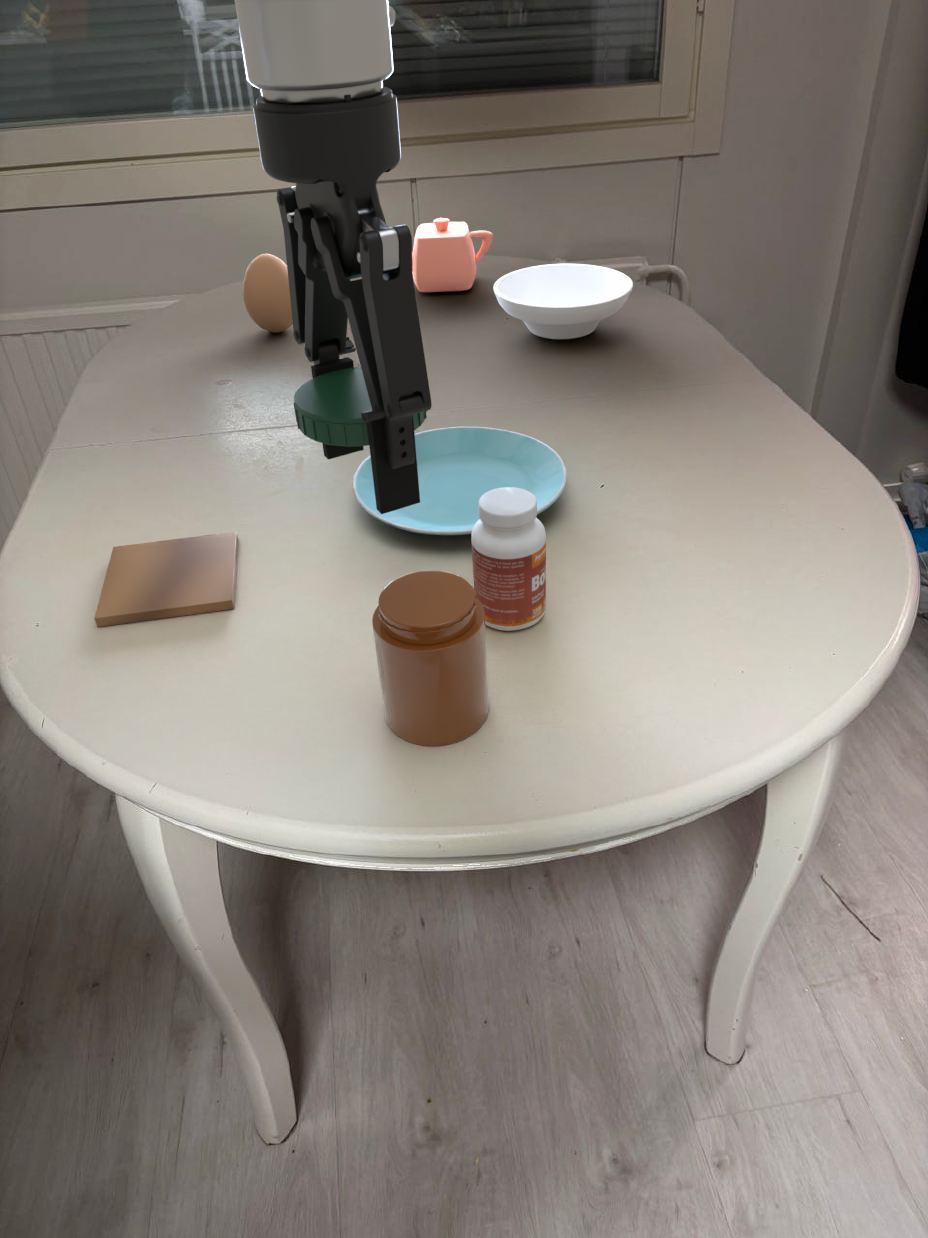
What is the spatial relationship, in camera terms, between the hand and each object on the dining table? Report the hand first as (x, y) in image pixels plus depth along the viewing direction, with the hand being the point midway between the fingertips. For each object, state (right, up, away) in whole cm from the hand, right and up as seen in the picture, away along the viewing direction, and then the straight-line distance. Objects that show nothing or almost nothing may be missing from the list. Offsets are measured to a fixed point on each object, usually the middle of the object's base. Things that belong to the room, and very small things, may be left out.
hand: (369, 477), depth 62 cm
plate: (+6, +3, +36) cm, 36 cm away
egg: (-22, +34, +79) cm, 89 cm away
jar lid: (0, +5, -4) cm, 6 cm away
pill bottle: (+10, -9, +19) cm, 23 cm away
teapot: (+2, +46, +93) cm, 104 cm away
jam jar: (+4, -16, +9) cm, 19 cm away
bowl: (+20, +32, +73) cm, 82 cm away
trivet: (-21, -6, +25) cm, 34 cm away
